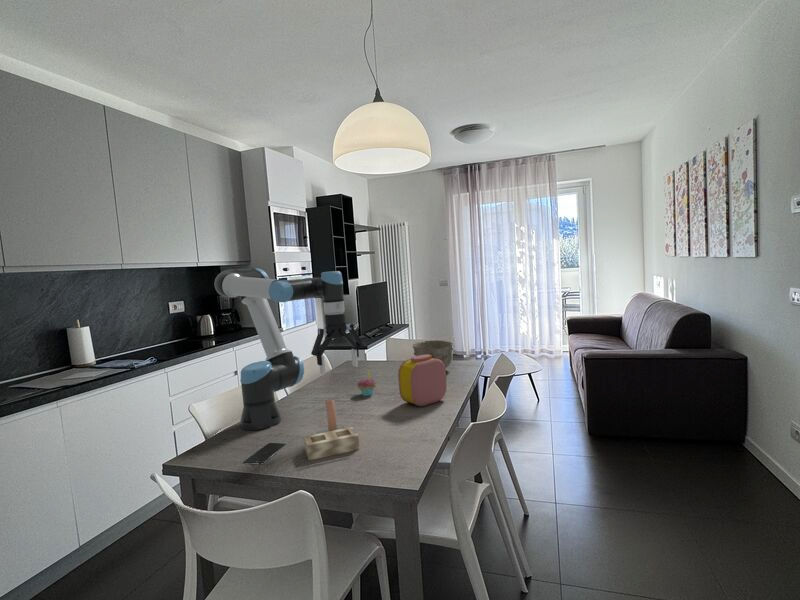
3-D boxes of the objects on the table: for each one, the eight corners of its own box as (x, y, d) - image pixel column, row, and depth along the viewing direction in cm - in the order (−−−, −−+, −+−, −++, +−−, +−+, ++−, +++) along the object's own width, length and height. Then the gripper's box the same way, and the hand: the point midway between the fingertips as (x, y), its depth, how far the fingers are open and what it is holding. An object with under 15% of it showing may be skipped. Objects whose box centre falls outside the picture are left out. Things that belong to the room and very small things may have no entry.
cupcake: (377, 391, 201) (376, 366, 200) (375, 397, 193) (373, 370, 192) (359, 392, 202) (357, 366, 201) (356, 397, 194) (354, 371, 193)
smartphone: (288, 443, 146) (261, 463, 132) (288, 445, 147) (262, 466, 132) (269, 442, 149) (241, 461, 134) (269, 444, 149) (241, 464, 134)
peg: (329, 436, 150) (326, 402, 149) (328, 433, 153) (325, 400, 152) (338, 434, 151) (335, 401, 150) (336, 431, 154) (333, 398, 153)
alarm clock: (432, 394, 191) (429, 351, 190) (449, 399, 182) (446, 354, 181) (398, 404, 180) (395, 358, 179) (415, 410, 171) (411, 362, 170)
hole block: (308, 461, 132) (307, 445, 132) (305, 451, 140) (303, 436, 139) (359, 450, 138) (358, 435, 137) (353, 441, 145) (352, 426, 145)
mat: (321, 443, 146) (321, 442, 146) (316, 433, 155) (316, 432, 155) (350, 437, 149) (350, 436, 149) (343, 427, 158) (343, 426, 158)
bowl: (434, 364, 246) (433, 338, 245) (463, 369, 230) (461, 342, 228) (405, 372, 233) (403, 345, 231) (433, 379, 216) (431, 349, 215)
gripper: (307, 318, 149) (313, 378, 150) (368, 309, 163) (373, 364, 165) (298, 317, 155) (304, 375, 156) (358, 308, 169) (362, 362, 171)
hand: (339, 369), depth 161 cm, fingers open, 13 cm apart
